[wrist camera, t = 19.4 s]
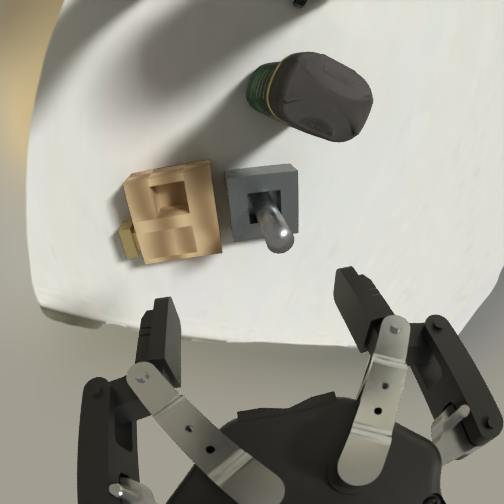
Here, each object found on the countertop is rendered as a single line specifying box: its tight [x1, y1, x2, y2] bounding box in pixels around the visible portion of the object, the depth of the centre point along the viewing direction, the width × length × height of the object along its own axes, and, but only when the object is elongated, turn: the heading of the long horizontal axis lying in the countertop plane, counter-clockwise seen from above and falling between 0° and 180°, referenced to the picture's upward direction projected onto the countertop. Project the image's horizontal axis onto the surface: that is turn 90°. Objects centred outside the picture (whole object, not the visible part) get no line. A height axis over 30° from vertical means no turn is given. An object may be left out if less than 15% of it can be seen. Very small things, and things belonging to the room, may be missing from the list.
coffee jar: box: [246, 52, 373, 142], centre depth 28 cm, size 10×8×19 cm
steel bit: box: [250, 191, 294, 253], centre depth 38 cm, size 3×3×13 cm
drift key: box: [118, 220, 141, 259], centre depth 43 cm, size 5×8×3 cm, turn 95°
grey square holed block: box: [225, 164, 298, 242], centre depth 43 cm, size 10×10×4 cm
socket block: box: [123, 160, 222, 264], centre depth 41 cm, size 12×13×5 cm
